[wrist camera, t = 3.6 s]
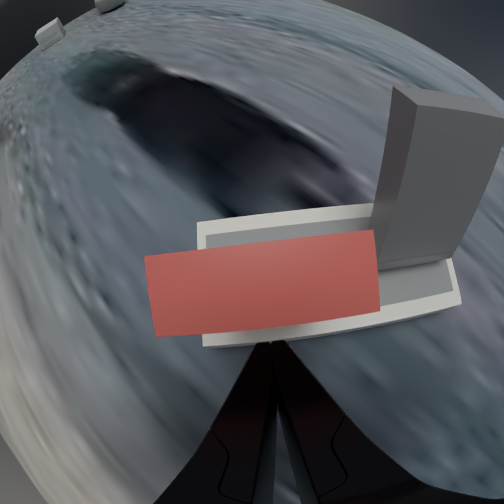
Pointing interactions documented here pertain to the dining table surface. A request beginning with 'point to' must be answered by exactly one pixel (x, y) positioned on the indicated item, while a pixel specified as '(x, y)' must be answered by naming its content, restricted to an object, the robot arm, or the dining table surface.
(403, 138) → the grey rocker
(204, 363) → the dining table surface
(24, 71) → the dining table surface
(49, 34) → the small box
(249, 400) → the robot arm
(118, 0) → the plastic bottle
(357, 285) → the upright red slab
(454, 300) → the shallow grey tray
